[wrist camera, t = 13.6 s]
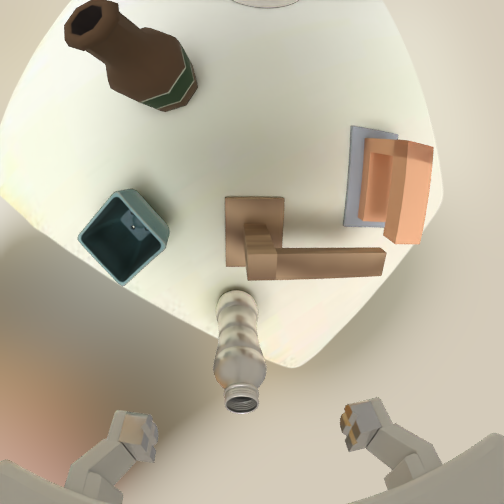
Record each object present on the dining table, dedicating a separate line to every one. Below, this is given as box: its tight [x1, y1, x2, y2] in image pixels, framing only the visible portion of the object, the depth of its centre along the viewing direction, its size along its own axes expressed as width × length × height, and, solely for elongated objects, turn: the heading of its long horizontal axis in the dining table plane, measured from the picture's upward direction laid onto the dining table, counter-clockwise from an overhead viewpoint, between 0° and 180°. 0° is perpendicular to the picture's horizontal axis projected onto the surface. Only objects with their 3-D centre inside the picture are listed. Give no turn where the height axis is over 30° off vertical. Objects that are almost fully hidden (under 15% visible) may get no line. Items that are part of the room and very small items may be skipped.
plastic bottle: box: [213, 290, 267, 414], centre depth 34 cm, size 6×7×20 cm
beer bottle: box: [64, 0, 198, 112], centre depth 19 cm, size 8×8×24 cm
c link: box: [358, 138, 434, 244], centre depth 31 cm, size 12×4×11 cm, turn 179°
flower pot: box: [78, 189, 169, 286], centre depth 33 cm, size 9×9×9 cm
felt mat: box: [343, 126, 398, 228], centre depth 37 cm, size 15×8×1 cm, turn 179°
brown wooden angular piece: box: [225, 197, 386, 281], centre depth 34 cm, size 10×18×12 cm, turn 89°
